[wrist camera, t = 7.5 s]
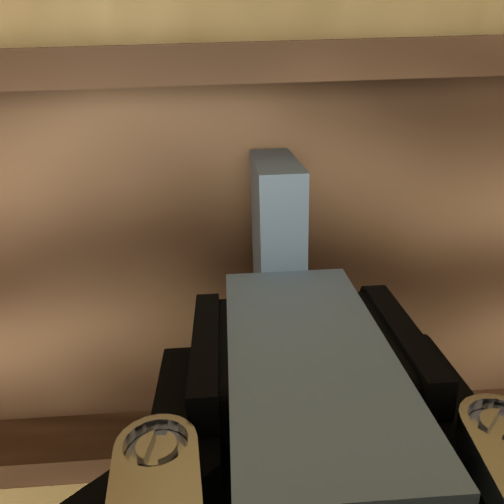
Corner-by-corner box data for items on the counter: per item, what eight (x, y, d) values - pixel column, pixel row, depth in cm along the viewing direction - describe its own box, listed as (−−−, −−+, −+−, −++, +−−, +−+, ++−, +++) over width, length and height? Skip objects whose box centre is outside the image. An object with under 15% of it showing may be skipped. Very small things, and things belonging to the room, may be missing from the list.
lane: (799, 370, 21) (1013, 481, 16) (-378, 444, 19) (-637, 606, 13) (954, 27, 16) (1351, 4, 11) (-613, 72, 14) (-1186, 73, 8)
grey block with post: (311, 362, 18) (432, 750, 8) (232, 366, 18) (246, 768, 8) (315, 146, 15) (515, 308, 5) (221, 150, 15) (220, 324, 5)
